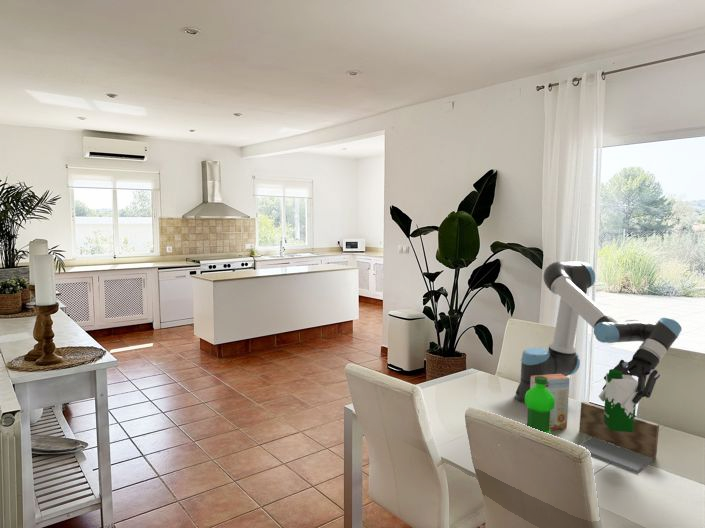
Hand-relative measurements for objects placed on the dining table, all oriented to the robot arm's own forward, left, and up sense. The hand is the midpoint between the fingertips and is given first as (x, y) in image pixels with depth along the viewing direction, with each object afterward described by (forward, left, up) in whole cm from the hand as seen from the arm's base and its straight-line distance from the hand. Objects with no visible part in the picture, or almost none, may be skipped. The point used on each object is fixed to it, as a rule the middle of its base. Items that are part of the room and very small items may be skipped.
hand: (613, 403), depth 162 cm
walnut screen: (-3, +13, -19) cm, 24 cm away
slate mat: (0, +3, -19) cm, 20 cm away
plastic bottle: (-21, -11, -20) cm, 31 cm away
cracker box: (-26, +6, -20) cm, 33 cm away
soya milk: (+1, +3, -9) cm, 10 cm away
